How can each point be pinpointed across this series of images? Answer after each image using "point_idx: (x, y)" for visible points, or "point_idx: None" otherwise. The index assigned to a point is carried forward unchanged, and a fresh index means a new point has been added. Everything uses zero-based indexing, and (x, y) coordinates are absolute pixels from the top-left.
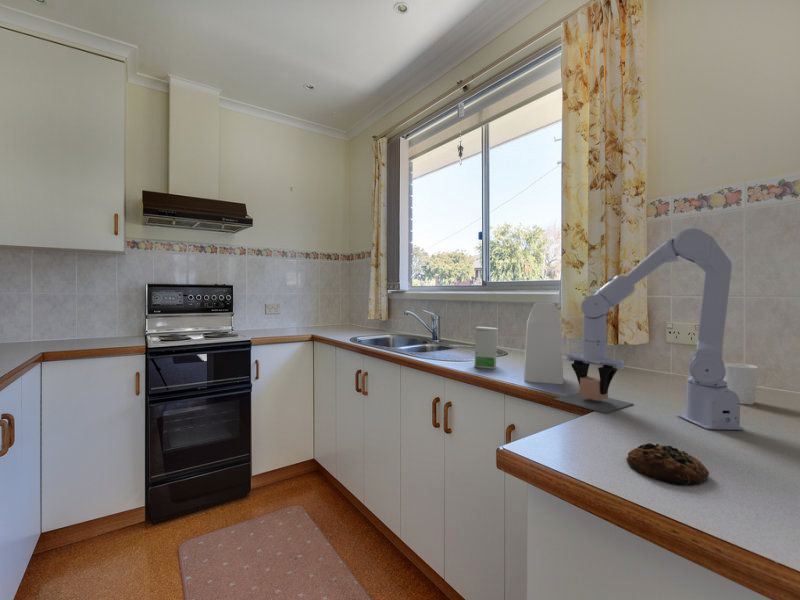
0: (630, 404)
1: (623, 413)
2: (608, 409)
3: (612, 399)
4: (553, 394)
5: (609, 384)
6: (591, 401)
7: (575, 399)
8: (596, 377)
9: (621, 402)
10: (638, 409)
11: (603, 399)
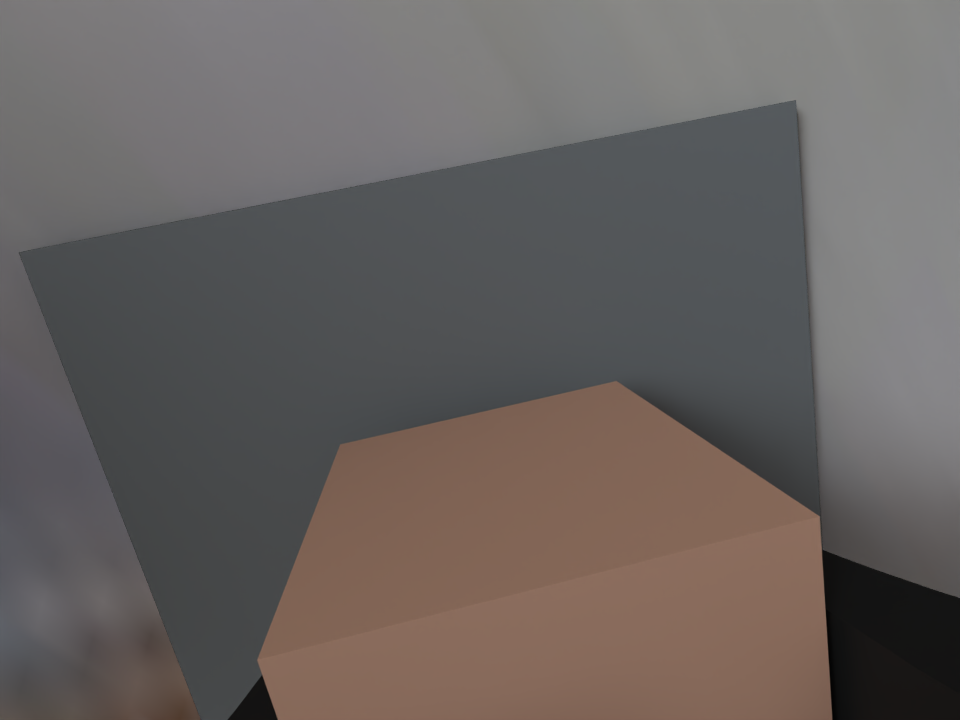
0: (799, 186)
1: (897, 533)
2: None
3: (541, 191)
4: (23, 717)
5: (848, 567)
6: None
7: None
8: (511, 647)
9: (690, 211)
10: (910, 243)
11: (496, 324)
